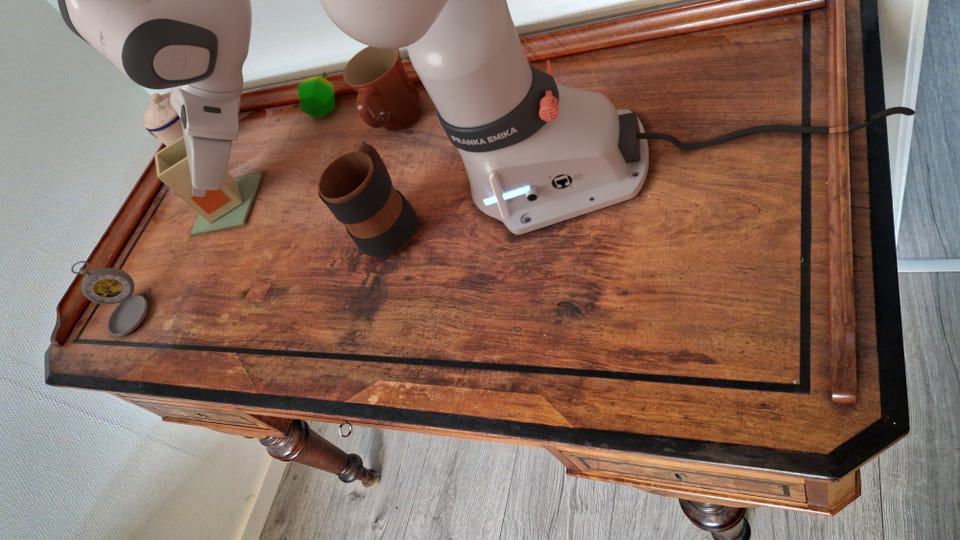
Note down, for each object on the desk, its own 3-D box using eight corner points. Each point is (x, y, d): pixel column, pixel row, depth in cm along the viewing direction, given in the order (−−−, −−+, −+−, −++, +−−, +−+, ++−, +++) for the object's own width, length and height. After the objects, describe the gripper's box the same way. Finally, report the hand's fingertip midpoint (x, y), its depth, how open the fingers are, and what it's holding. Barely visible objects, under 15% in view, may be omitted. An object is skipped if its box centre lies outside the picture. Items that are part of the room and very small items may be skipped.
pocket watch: (127, 344, 92) (67, 309, 85) (99, 325, 97) (41, 291, 90) (165, 297, 95) (111, 259, 88) (137, 281, 100) (83, 244, 92)
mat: (262, 174, 103) (260, 172, 103) (244, 224, 98) (242, 222, 97) (212, 185, 107) (210, 183, 106) (192, 234, 101) (190, 233, 101)
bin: (242, 203, 100) (193, 155, 91) (209, 224, 100) (157, 177, 92) (236, 180, 104) (188, 132, 95) (205, 200, 104) (154, 154, 95)
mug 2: (428, 183, 88) (388, 121, 79) (415, 256, 81) (369, 197, 72) (373, 193, 91) (328, 134, 82) (355, 264, 84) (304, 209, 76)
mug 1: (386, 100, 102) (353, 47, 94) (436, 92, 99) (405, 36, 91) (364, 157, 96) (327, 107, 88) (416, 151, 93) (382, 98, 85)
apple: (296, 90, 99) (310, 50, 104) (286, 115, 104) (300, 77, 109) (340, 109, 102) (352, 70, 106) (329, 133, 107) (341, 95, 111)
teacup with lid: (231, 123, 116) (185, 72, 107) (212, 161, 111) (162, 111, 102) (181, 133, 120) (132, 85, 111) (160, 170, 116) (108, 123, 107)
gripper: (174, 57, 95) (166, 140, 102) (188, 131, 82) (178, 219, 89) (220, 65, 98) (209, 144, 106) (241, 136, 85) (227, 221, 93)
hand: (195, 179), depth 97 cm, fingers closed on bin, 6 cm apart
